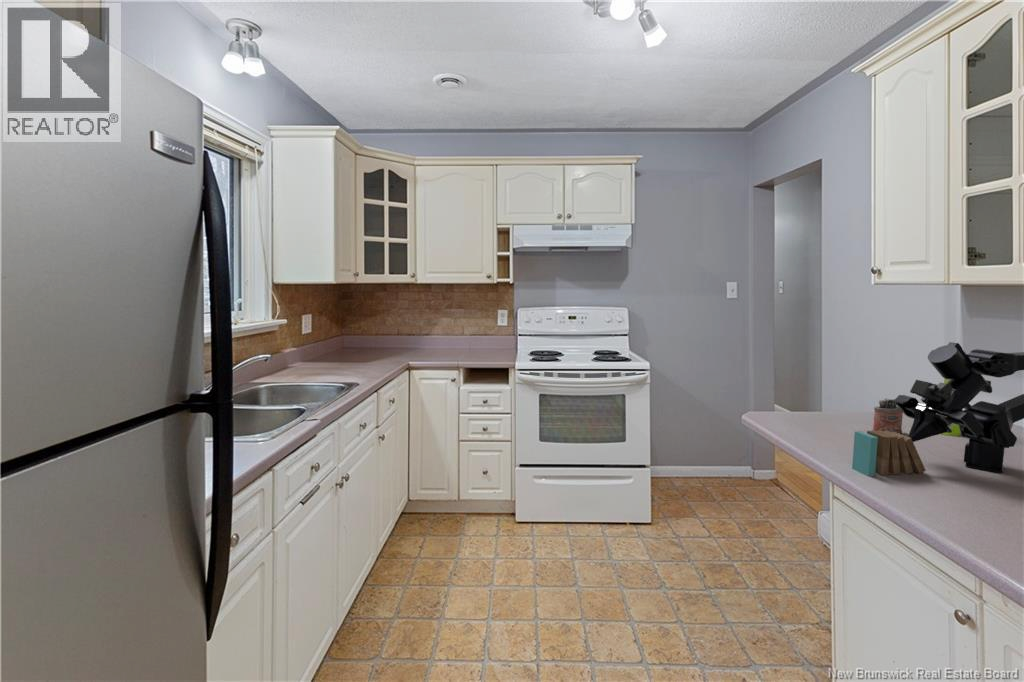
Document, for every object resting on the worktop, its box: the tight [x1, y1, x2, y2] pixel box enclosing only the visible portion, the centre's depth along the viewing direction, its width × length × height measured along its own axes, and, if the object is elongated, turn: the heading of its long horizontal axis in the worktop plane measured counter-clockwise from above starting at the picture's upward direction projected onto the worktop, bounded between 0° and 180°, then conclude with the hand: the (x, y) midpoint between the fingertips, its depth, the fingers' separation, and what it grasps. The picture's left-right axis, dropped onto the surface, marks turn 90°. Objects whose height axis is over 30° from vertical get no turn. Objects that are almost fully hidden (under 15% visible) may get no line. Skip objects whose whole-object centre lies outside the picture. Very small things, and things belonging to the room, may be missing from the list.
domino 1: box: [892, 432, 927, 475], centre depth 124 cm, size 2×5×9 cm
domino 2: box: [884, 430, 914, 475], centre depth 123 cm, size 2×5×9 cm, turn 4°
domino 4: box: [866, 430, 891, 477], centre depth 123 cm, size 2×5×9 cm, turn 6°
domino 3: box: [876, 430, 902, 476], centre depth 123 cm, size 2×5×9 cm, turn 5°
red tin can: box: [871, 397, 904, 434], centre depth 154 cm, size 8×3×10 cm, turn 92°
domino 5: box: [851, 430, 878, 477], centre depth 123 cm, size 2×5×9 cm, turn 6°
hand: (909, 440), depth 123 cm, fingers closed
